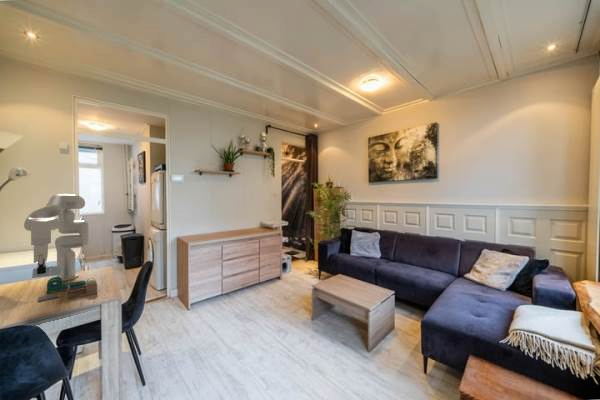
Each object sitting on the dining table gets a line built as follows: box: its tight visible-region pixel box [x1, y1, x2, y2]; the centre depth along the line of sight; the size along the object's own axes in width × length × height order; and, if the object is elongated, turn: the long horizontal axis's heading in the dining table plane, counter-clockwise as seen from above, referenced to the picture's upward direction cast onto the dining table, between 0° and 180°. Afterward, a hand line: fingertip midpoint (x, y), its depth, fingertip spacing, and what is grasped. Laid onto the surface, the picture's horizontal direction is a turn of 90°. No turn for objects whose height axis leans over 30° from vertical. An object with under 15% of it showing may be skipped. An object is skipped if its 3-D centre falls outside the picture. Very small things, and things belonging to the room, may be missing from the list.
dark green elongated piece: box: [46, 276, 87, 294], centre depth 152 cm, size 18×7×8 cm, turn 136°
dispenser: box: [67, 277, 98, 300], centre depth 143 cm, size 8×13×8 cm, turn 137°
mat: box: [37, 292, 59, 303], centre depth 137 cm, size 7×8×1 cm
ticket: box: [31, 265, 62, 279], centre depth 132 cm, size 2×11×5 cm, turn 136°
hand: (41, 272), depth 130 cm, fingers closed on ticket, 2 cm apart
